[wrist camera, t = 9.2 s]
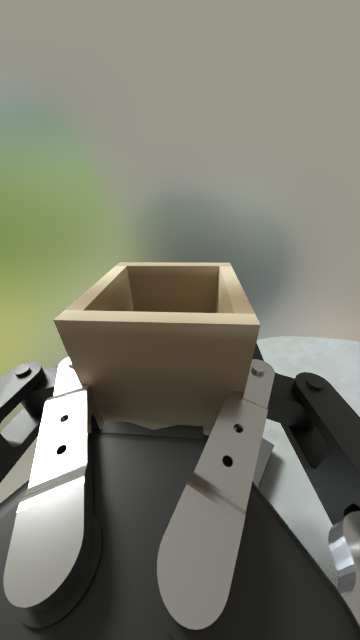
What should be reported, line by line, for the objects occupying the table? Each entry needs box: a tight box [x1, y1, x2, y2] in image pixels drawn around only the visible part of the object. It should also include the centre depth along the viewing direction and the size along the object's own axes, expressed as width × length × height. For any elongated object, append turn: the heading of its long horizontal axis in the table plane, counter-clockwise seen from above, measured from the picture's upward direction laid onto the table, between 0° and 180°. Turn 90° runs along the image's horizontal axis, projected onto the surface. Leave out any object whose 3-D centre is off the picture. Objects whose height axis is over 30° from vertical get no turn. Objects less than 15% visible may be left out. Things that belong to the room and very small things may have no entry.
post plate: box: [253, 438, 274, 487], centre depth 18 cm, size 18×12×8 cm, turn 141°
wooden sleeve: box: [54, 263, 260, 436], centre depth 11 cm, size 6×6×10 cm
